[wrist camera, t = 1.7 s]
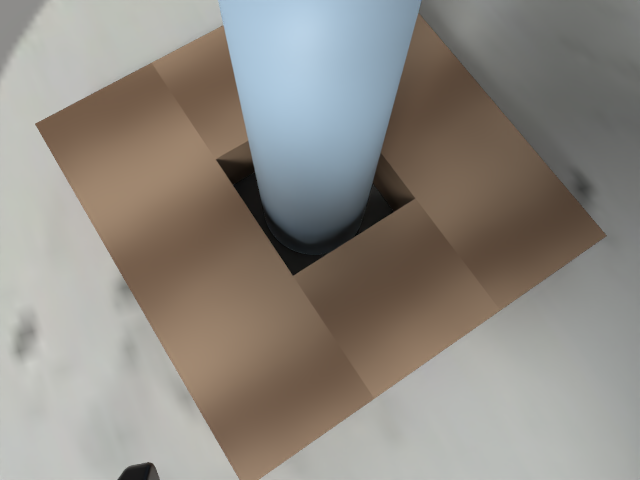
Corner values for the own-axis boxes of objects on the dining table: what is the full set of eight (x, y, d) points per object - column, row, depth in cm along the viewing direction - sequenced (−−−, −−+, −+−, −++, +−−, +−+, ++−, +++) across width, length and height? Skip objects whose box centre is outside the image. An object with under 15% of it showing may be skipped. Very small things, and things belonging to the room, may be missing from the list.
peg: (383, 220, 25) (471, -12, 12) (298, 274, 24) (287, 91, 11) (327, 143, 26) (348, -151, 13) (244, 192, 25) (172, -66, 12)
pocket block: (571, 257, 24) (606, 235, 22) (253, 480, 22) (244, 489, 19) (360, -2, 28) (366, -50, 25) (65, 157, 25) (35, 123, 23)
